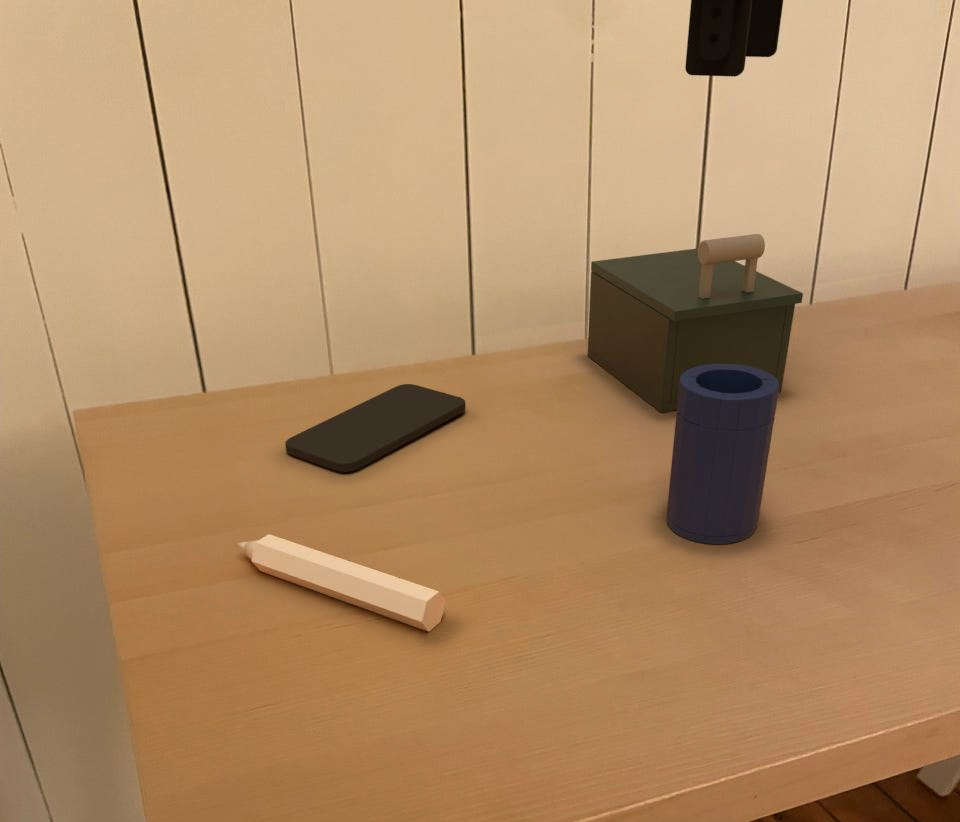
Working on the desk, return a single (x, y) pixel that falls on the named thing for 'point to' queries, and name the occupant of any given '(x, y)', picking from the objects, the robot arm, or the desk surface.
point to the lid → (700, 279)
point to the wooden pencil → (347, 581)
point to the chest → (679, 342)
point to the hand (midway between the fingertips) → (732, 64)
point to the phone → (374, 427)
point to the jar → (720, 452)
